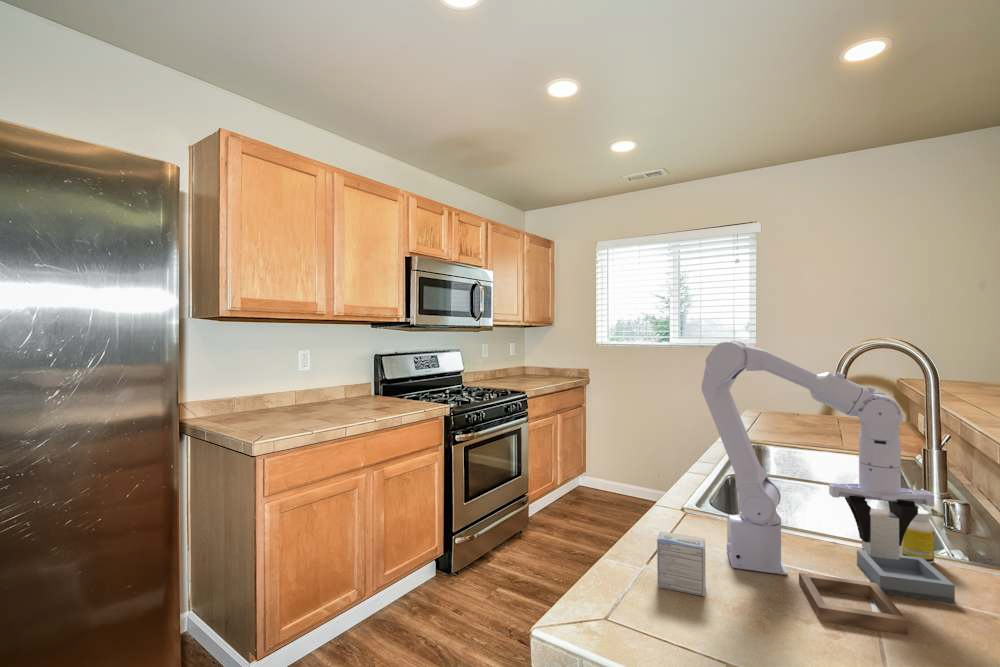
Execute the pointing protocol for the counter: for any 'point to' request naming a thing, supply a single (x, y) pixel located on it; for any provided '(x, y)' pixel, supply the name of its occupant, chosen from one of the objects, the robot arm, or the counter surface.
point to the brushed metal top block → (883, 534)
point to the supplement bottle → (919, 538)
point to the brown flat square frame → (884, 621)
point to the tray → (906, 577)
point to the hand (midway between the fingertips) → (879, 541)
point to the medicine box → (681, 563)
